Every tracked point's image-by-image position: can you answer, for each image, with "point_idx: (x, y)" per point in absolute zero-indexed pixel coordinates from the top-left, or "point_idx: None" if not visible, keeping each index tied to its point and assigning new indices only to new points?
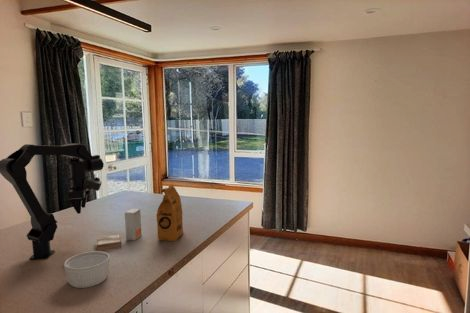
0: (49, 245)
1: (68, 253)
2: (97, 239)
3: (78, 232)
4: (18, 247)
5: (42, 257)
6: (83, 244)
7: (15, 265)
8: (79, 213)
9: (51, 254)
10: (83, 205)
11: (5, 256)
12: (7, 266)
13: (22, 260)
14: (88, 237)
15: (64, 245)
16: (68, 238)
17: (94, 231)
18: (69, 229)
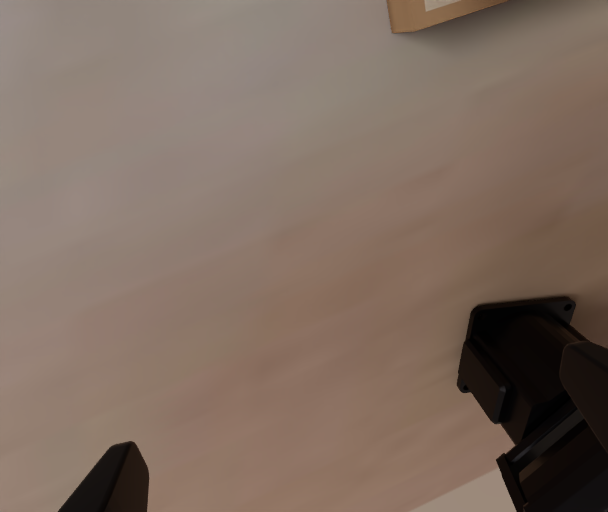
0: (561, 345)
1: (535, 205)
2: (480, 4)
3: (92, 320)
4: (346, 502)
5: (569, 323)
6: (387, 163)
7: None
8: (577, 350)
9: (523, 301)
10: (129, 500)
11: (452, 487)
12: None
13: None
14: (222, 185)
15: (373, 297)
16: (233, 332)
17: (51, 189)
18: (24, 413)
